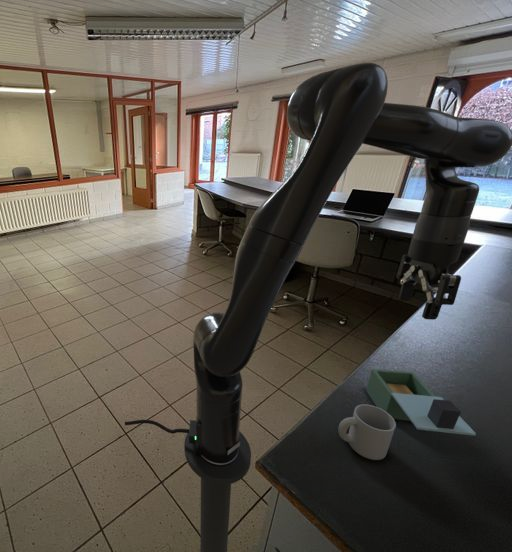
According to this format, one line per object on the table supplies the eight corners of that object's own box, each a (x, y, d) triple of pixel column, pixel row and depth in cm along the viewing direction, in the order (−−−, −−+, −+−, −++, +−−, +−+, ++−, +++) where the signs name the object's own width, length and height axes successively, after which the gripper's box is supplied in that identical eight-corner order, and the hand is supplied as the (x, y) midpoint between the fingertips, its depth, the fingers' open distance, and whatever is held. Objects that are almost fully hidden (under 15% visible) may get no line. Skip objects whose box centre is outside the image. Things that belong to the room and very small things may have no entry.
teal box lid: (417, 429, 62) (424, 409, 60) (391, 394, 71) (396, 376, 69) (475, 435, 60) (484, 415, 58) (440, 398, 69) (447, 380, 67)
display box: (384, 418, 74) (391, 394, 71) (366, 390, 83) (371, 368, 80) (429, 422, 72) (438, 399, 69) (405, 394, 81) (413, 371, 78)
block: (391, 408, 76) (395, 395, 74) (382, 396, 80) (386, 383, 78) (411, 410, 75) (416, 397, 73) (401, 397, 79) (405, 384, 77)
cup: (393, 463, 63) (404, 433, 60) (341, 457, 65) (349, 427, 62) (375, 434, 70) (384, 405, 67) (329, 430, 72) (335, 401, 69)
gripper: (395, 228, 66) (379, 294, 72) (440, 246, 53) (416, 325, 59) (435, 228, 64) (415, 295, 70) (492, 246, 51) (461, 327, 57)
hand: (415, 308), depth 65 cm, fingers open, 8 cm apart
